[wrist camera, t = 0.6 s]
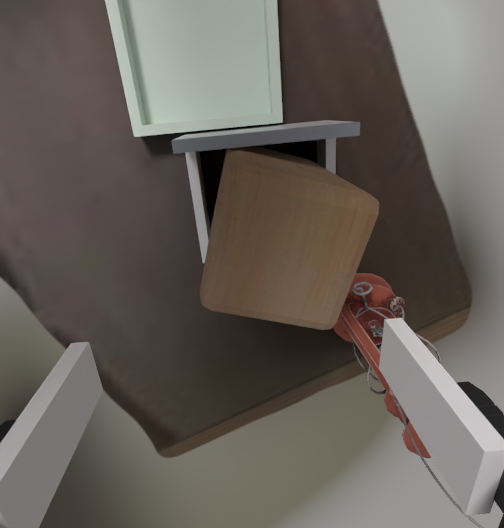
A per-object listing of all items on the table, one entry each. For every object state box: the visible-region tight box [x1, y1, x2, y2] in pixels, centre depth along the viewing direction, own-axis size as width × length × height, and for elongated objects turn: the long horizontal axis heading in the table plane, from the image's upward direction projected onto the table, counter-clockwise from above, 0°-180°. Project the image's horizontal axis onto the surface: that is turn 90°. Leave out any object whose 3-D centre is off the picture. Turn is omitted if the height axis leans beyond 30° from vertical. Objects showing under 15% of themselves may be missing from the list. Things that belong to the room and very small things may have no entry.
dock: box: [171, 120, 360, 263], centre depth 35 cm, size 14×15×11 cm
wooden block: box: [199, 146, 379, 330], centre depth 31 cm, size 10×10×20 cm
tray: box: [105, 0, 283, 137], centre depth 33 cm, size 15×15×2 cm
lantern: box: [333, 273, 483, 528], centre depth 33 cm, size 10×10×30 cm
